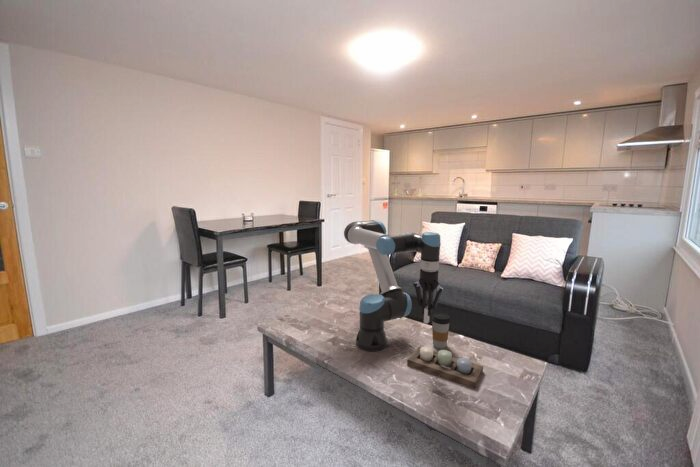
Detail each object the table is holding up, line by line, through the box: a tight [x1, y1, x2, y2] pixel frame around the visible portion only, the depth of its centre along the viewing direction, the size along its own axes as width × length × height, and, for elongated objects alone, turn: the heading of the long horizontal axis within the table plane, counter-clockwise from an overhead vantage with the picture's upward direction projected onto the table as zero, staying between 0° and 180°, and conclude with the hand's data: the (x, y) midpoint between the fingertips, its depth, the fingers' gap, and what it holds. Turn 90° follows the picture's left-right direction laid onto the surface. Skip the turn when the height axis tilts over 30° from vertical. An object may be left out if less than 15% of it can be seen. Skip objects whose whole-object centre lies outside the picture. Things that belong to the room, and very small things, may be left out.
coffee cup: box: [431, 312, 451, 350], centre depth 153 cm, size 8×8×15 cm
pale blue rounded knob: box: [456, 357, 473, 375], centre depth 131 cm, size 6×6×4 cm
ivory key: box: [420, 346, 434, 363], centre depth 140 cm, size 6×6×4 cm
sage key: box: [437, 349, 453, 367], centre depth 135 cm, size 6×6×4 cm
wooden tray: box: [406, 346, 484, 389], centre depth 136 cm, size 28×13×2 cm, turn 56°
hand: (426, 322), depth 139 cm, fingers closed
